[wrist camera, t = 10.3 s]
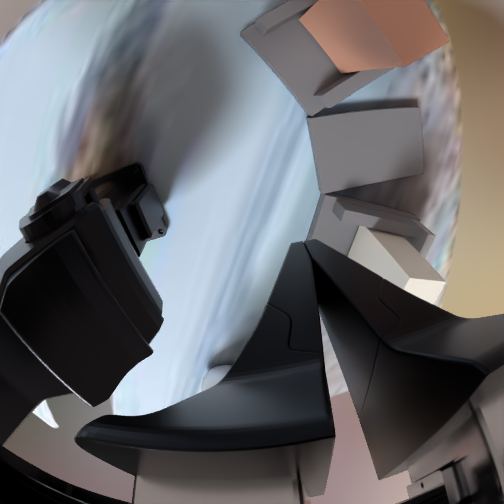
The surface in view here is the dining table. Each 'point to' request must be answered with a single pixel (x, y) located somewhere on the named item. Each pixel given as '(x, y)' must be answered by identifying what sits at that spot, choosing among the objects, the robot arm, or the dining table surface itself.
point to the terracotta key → (374, 32)
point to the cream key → (396, 262)
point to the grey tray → (343, 132)
